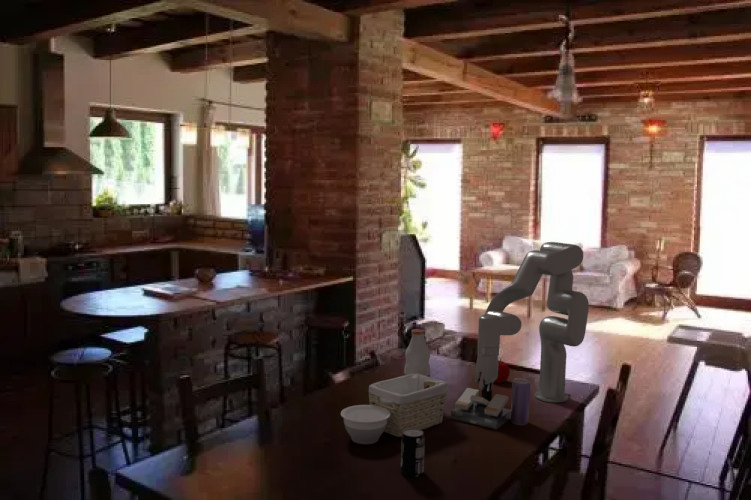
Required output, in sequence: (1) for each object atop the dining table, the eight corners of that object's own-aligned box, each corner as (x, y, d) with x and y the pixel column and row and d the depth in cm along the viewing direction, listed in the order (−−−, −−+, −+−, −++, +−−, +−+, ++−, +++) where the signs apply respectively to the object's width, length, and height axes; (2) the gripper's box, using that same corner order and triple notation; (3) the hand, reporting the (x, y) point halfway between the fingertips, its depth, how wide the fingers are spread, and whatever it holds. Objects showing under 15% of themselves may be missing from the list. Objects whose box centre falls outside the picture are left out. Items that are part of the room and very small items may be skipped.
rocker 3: (496, 397, 241) (495, 393, 240) (508, 400, 239) (507, 395, 238) (484, 413, 233) (484, 409, 233) (496, 416, 231) (496, 412, 230)
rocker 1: (467, 391, 247) (467, 387, 246) (479, 393, 244) (478, 389, 244) (455, 407, 239) (455, 403, 239) (467, 410, 237) (466, 405, 236)
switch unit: (467, 408, 249) (467, 396, 249) (511, 418, 240) (511, 405, 240) (450, 418, 238) (450, 406, 238) (495, 429, 229) (496, 416, 229)
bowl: (396, 433, 224) (396, 408, 223) (381, 451, 209) (381, 424, 208) (350, 426, 229) (351, 402, 228) (332, 444, 214) (332, 417, 213)
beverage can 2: (528, 426, 232) (530, 383, 231) (510, 424, 234) (512, 382, 232) (528, 420, 238) (530, 378, 237) (510, 418, 239) (512, 377, 238)
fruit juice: (422, 399, 259) (424, 326, 255) (433, 407, 250) (435, 332, 247) (399, 402, 255) (401, 328, 252) (410, 410, 246) (412, 334, 243)
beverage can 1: (399, 468, 198) (400, 427, 196) (421, 467, 198) (422, 427, 197) (402, 478, 191) (403, 436, 190) (425, 477, 192) (426, 436, 190)
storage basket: (414, 411, 246) (415, 371, 244) (448, 423, 234) (450, 381, 232) (365, 427, 230) (366, 384, 228) (399, 441, 218) (400, 396, 216)
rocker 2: (480, 405, 244) (481, 400, 244) (492, 408, 241) (493, 403, 242) (469, 399, 236) (471, 394, 236) (482, 402, 233) (483, 397, 234)
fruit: (511, 385, 278) (512, 361, 277) (488, 384, 278) (489, 360, 277) (507, 378, 287) (508, 355, 286) (485, 378, 287) (486, 354, 286)
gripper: (487, 344, 249) (485, 393, 251) (469, 352, 236) (467, 404, 238) (506, 347, 244) (504, 397, 246) (489, 356, 232) (487, 408, 234)
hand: (486, 400), depth 242 cm, fingers closed
